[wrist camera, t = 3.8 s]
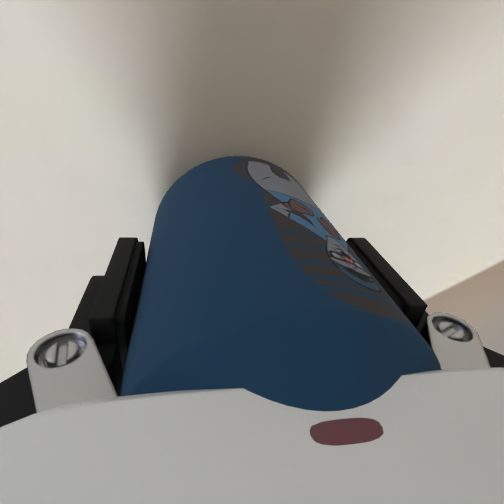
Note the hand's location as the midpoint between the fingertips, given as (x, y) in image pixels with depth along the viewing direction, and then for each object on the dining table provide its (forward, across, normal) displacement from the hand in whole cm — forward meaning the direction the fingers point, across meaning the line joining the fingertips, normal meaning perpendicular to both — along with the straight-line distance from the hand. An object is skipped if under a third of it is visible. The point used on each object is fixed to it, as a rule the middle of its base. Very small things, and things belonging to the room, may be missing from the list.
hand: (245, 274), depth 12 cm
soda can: (+4, 0, 0) cm, 4 cm away
